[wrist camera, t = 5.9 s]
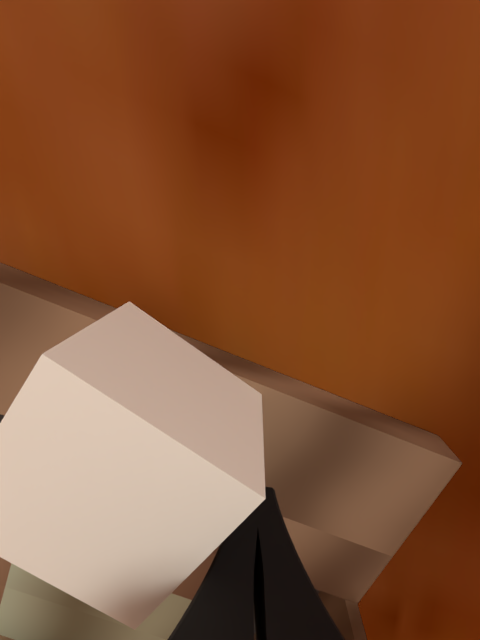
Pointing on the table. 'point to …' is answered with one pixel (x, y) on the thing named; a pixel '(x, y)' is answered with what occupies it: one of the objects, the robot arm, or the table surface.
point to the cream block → (126, 464)
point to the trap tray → (280, 473)
